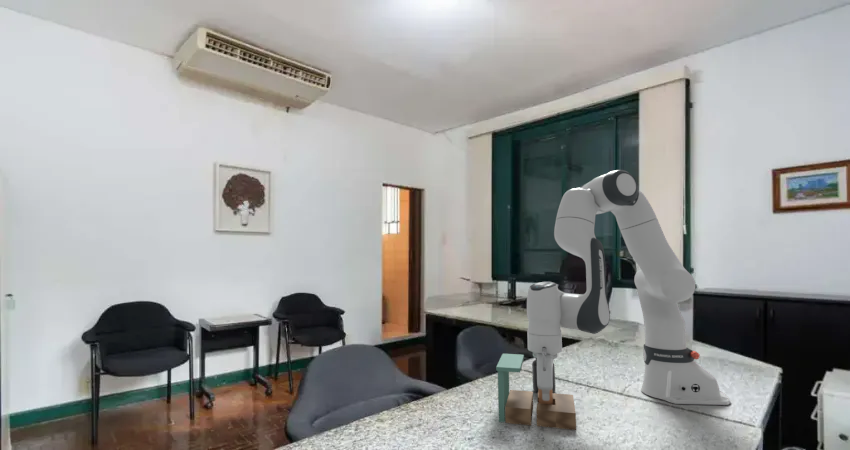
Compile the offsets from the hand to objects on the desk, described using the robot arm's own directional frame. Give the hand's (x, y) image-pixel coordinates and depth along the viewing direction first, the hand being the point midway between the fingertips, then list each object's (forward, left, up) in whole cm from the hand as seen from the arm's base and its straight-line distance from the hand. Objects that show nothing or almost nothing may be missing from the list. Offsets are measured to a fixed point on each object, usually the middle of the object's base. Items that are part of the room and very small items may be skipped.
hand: (546, 396), depth 113 cm
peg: (0, 0, -4) cm, 4 cm away
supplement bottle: (+1, -21, -5) cm, 22 cm away
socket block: (+2, 0, -5) cm, 5 cm away
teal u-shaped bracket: (+9, 0, -5) cm, 10 cm away
